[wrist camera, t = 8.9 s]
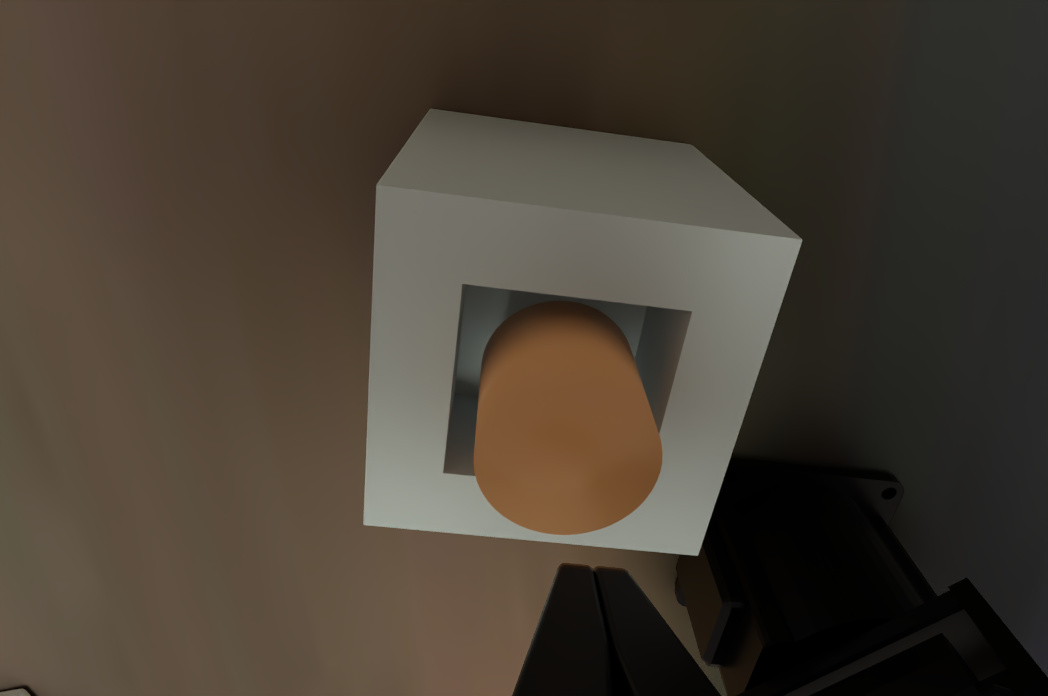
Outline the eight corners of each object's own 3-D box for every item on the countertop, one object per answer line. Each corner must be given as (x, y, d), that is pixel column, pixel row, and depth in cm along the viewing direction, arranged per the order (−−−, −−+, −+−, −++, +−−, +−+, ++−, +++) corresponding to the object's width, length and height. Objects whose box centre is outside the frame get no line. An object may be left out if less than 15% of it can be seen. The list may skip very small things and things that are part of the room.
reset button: (647, 310, 13) (682, 392, 10) (617, 441, 14) (640, 542, 12) (490, 292, 13) (484, 370, 10) (473, 425, 14) (465, 525, 12)
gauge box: (691, 144, 19) (803, 239, 11) (637, 370, 22) (697, 556, 15) (430, 108, 18) (376, 184, 11) (413, 345, 21) (363, 524, 14)
